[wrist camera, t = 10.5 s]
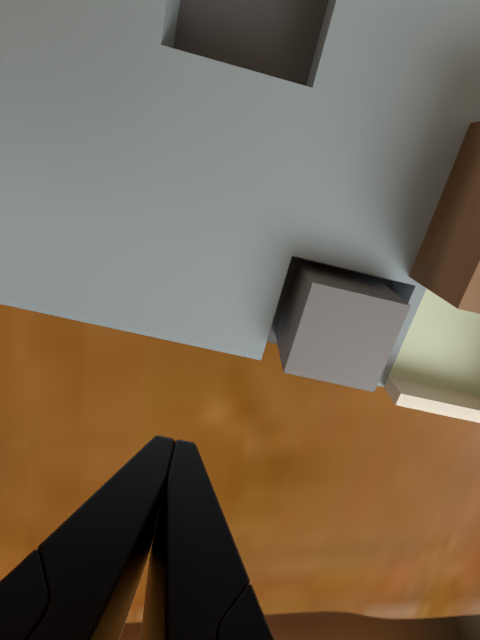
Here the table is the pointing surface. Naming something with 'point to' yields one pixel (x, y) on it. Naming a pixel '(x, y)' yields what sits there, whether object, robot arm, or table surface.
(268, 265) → the deck
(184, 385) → the table surface
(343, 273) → the gray block
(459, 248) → the walnut block
